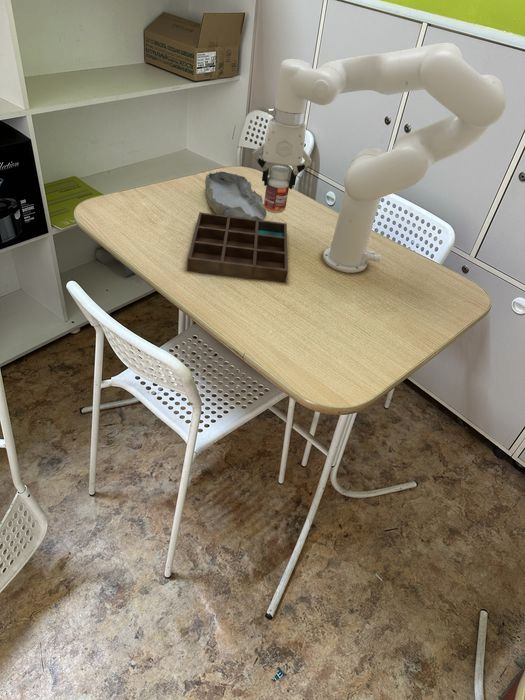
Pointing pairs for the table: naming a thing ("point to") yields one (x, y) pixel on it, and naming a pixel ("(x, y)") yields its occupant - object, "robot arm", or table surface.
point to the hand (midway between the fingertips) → (277, 184)
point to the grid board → (239, 248)
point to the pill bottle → (277, 189)
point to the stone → (233, 196)
